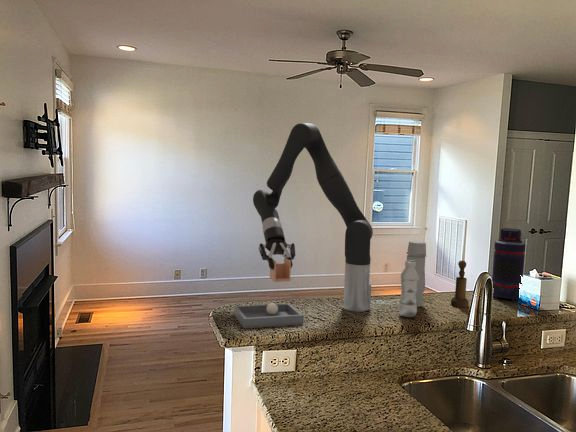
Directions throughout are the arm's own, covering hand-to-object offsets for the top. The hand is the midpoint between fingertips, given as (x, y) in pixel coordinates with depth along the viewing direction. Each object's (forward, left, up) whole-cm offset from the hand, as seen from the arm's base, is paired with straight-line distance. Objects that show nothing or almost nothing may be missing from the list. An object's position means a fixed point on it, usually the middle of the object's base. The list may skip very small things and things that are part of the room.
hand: (281, 268), depth 168 cm
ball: (+6, +9, -12) cm, 16 cm away
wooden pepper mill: (-72, +9, -15) cm, 74 cm away
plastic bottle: (-42, +18, -15) cm, 48 cm away
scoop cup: (0, -2, -5) cm, 5 cm away
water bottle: (-54, +5, -15) cm, 56 cm away
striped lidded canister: (-102, +2, -15) cm, 103 cm away
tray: (+8, +11, -15) cm, 20 cm away
